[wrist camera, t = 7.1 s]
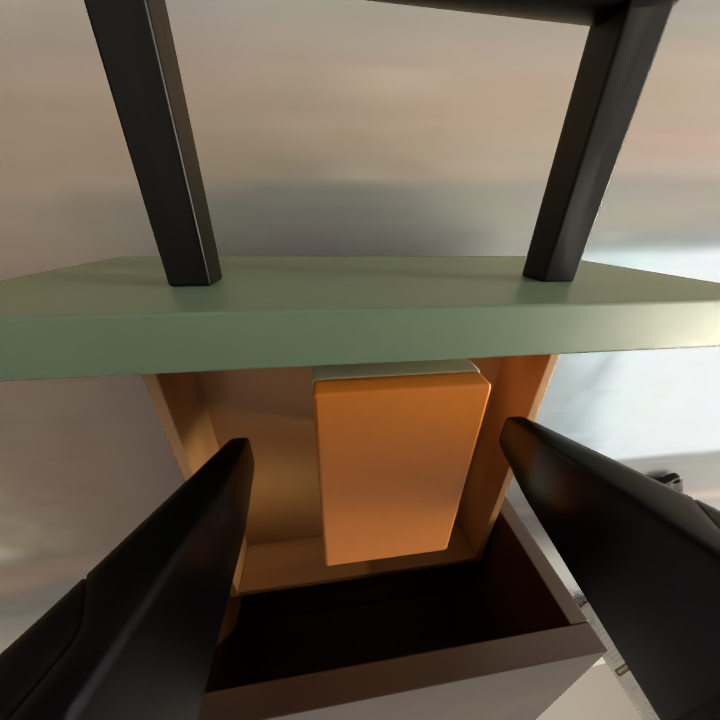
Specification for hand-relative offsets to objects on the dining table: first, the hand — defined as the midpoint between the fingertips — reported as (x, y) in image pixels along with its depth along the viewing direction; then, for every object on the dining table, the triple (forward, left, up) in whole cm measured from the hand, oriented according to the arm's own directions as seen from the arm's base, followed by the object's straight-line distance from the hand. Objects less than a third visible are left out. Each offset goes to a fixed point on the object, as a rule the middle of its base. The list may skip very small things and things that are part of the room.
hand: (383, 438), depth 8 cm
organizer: (-13, +9, -6) cm, 17 cm away
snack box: (0, 0, -4) cm, 4 cm away
